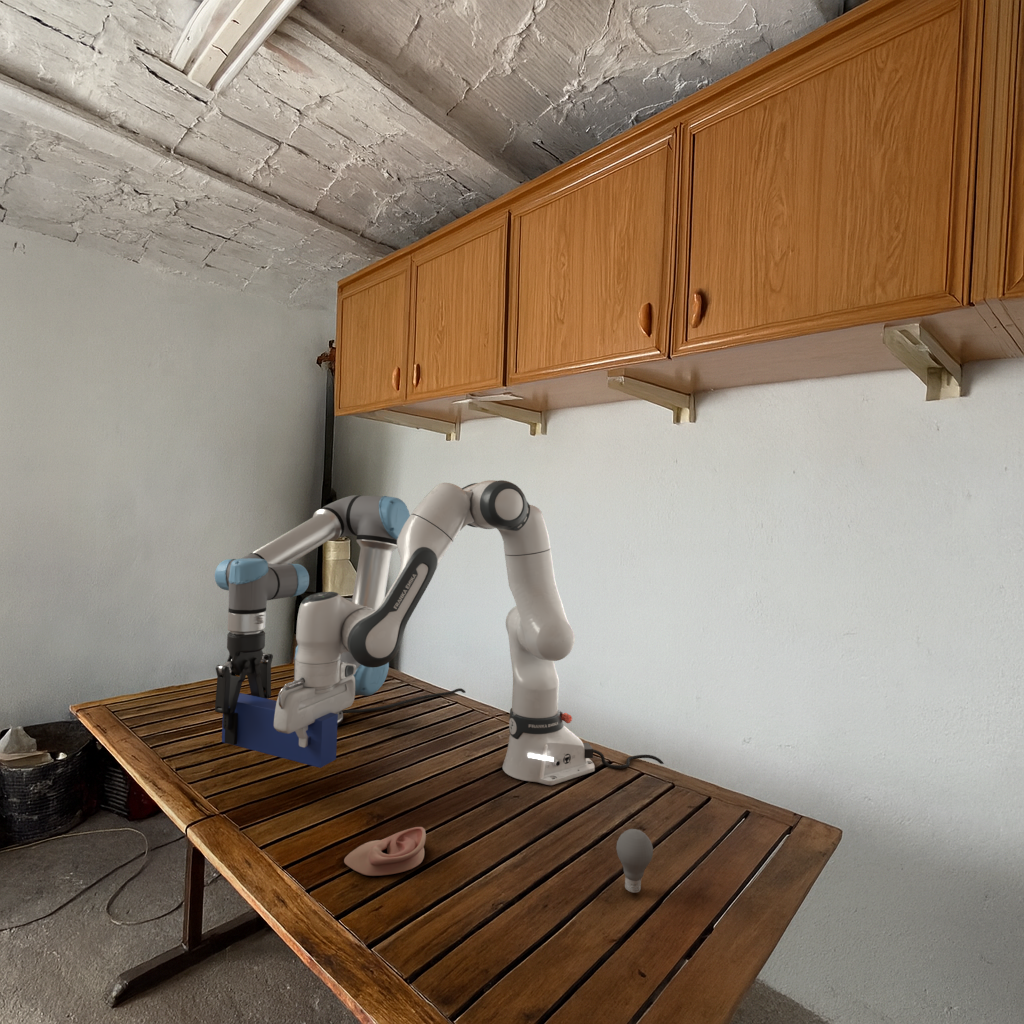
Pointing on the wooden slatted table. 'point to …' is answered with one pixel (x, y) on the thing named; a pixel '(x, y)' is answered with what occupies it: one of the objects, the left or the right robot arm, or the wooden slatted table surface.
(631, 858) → the light bulb
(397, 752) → the wooden slatted table surface
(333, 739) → the bar
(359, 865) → the anatomical model
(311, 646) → the right robot arm
